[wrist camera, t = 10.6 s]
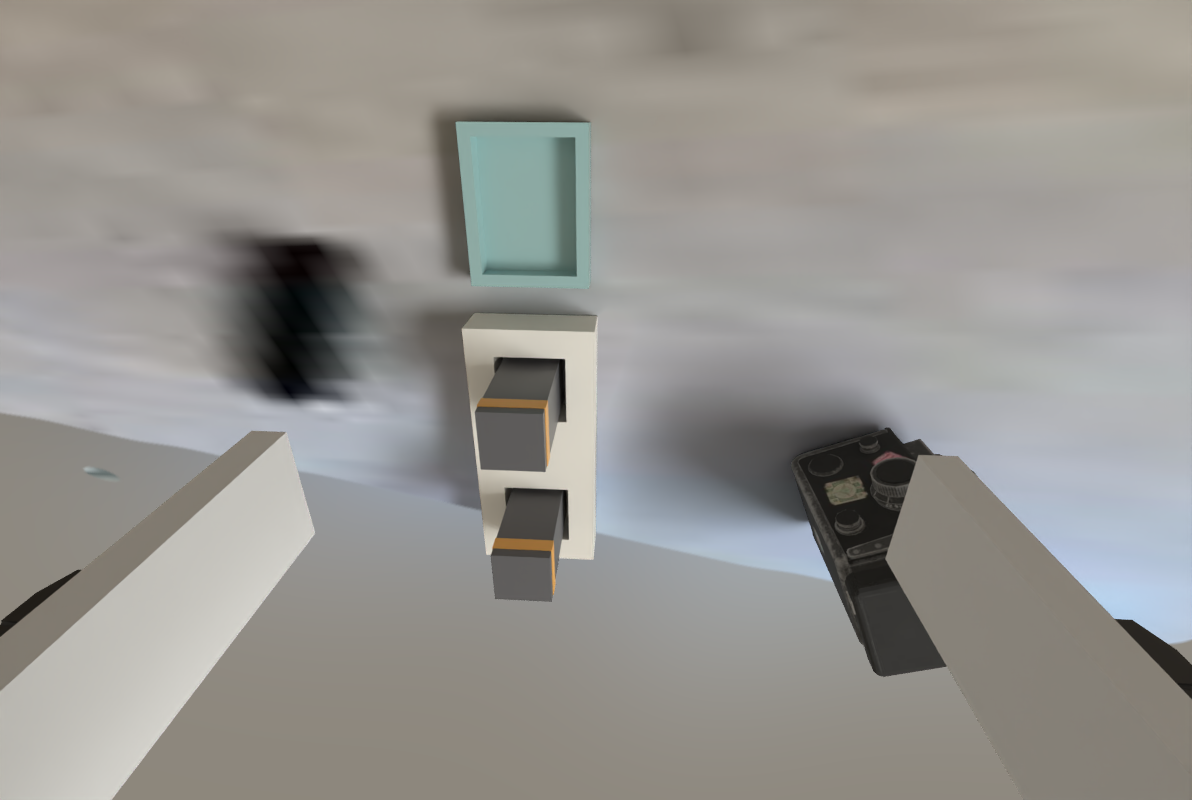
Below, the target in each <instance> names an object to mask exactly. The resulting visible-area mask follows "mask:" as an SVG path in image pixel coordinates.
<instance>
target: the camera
mask: <svg viewBox="0 0 1192 800" xmlns="http://www.w3.org/2000/svg"><path fill="white" fill-rule="evenodd" d="M918 455H934V456H942V455H940V454H933V453H932V451H931V450H930V449H929V448H928V447H927V446H926V445H925V444H924V443H923V441H922V440H921V439H918V440H915V441H912V442H908V443H905V444H902V442H901V441H900V440H899V439H898V438H897V436H896V435H895V434H894V433H893V432H892V430H891V429H890V428H885V429H884V430H881V431H878V432H874V433H871V434H867V435H864V436H861V437H857V438H854V439H851V440H847V441H844V442H841V443H837V444H834V445H830V446H827V447H824V448H820V449H817V450H814V451H810V452H807V453H804V454H801V455H799V456H797V457H796V458H795V459H794V460H793V461H792V464H791V468H792V471H793V473H794V476H795V479H796V482H797V485H798V488H799V491H800V495H801V498H802V501H803V504H804V507H805V510H806V513H807V516H808V519H809V523H810V526H811V529H812V532H813V536H814V539H815V541H816V543H817V545H818V548H819V550H820V552H821V555H822V557H823V559H824V561H825V564H826V566H827V568H828V571H829V573H830V575H831V577H832V580H833V582H834V584H835V587H836V589H837V591H838V593H839V596H840V598H841V600H842V603H843V605H844V607H845V610H846V612H847V614H848V616H849V618H850V621H851V623H852V626H853V628H854V630H855V632H856V635H857V637H858V639H859V642H860V643H861V644H862V645H864V647H865V651H866V654H867V657H868V660H869V662H870V664H871V666H872V669H873V671H874V672H875V673H876V674H877V675H879V676H884V677H885V676H891V675H897V674H903V673H910V672H916V671H922V670H928V669H934V668H941V667H947V666H946V664H945V662H944V661H943V659H942V657H941V655H940V654H939V652H938V650H937V648H936V647H935V645H934V643H933V641H932V640H931V638H930V636H929V634H928V633H927V631H926V629H925V627H924V626H923V624H922V622H921V620H920V619H919V617H918V615H917V613H916V612H915V610H914V608H913V607H912V605H911V603H910V601H909V600H908V598H907V596H906V594H905V593H904V591H903V589H902V587H901V586H900V584H899V582H898V580H897V579H896V577H895V575H894V573H893V572H892V570H891V568H890V566H889V565H888V563H887V561H886V559H885V558H886V555H887V552H888V549H889V546H890V543H891V540H892V536H893V533H894V530H895V527H896V524H897V521H898V518H899V515H900V511H901V508H902V505H903V502H904V499H905V496H906V493H907V489H908V486H909V483H910V480H911V477H912V474H913V471H914V468H915V464H916V461H917V458H918ZM971 471H972V470H971ZM972 472H973V471H972ZM973 473H974V472H973ZM974 474H975V473H974ZM975 475H976V474H975ZM976 476H977V475H976Z"/></svg>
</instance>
